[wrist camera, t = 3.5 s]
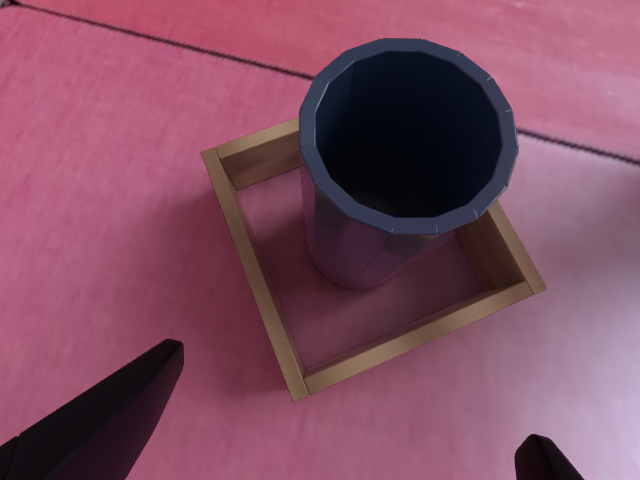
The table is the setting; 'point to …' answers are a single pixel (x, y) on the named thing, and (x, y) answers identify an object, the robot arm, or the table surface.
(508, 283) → the crate
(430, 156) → the tumbler
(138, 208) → the table surface
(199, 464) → the table surface
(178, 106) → the table surface
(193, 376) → the table surface
